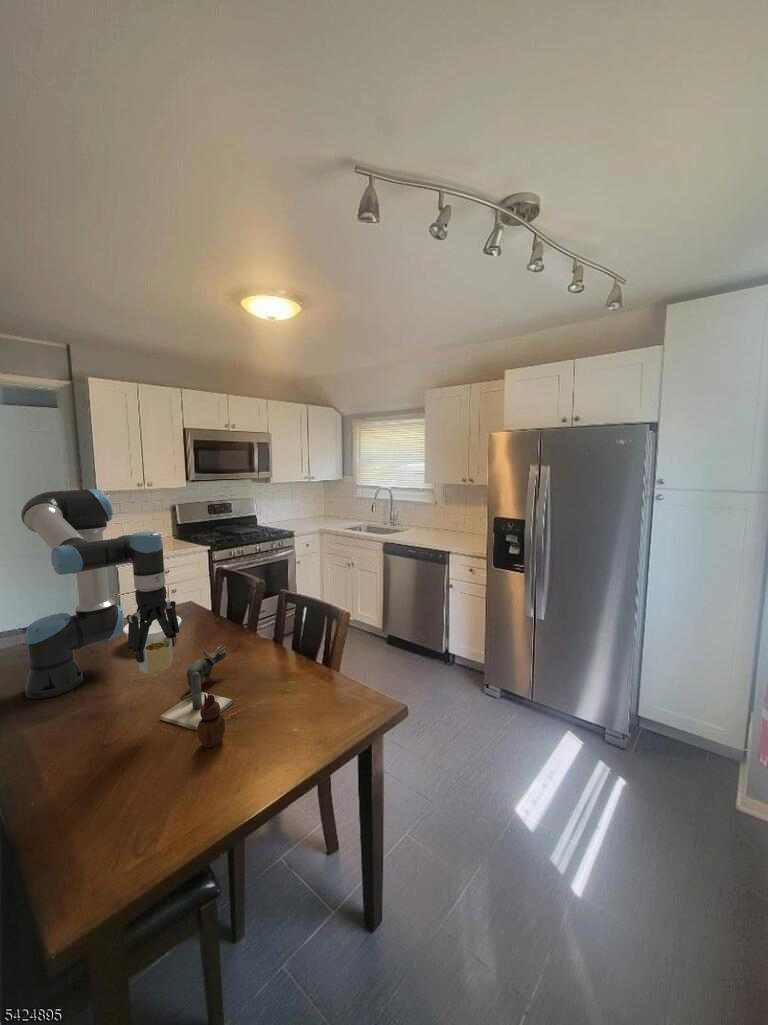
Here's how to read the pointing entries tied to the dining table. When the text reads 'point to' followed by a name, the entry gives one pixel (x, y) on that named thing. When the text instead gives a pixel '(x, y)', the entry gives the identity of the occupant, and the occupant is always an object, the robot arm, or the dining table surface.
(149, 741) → the dining table surface
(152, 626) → the bowl
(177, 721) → the post board
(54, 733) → the dining table surface
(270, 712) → the dining table surface
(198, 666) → the dinosaur figurine
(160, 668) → the sleeve
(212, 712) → the wooden figurine
